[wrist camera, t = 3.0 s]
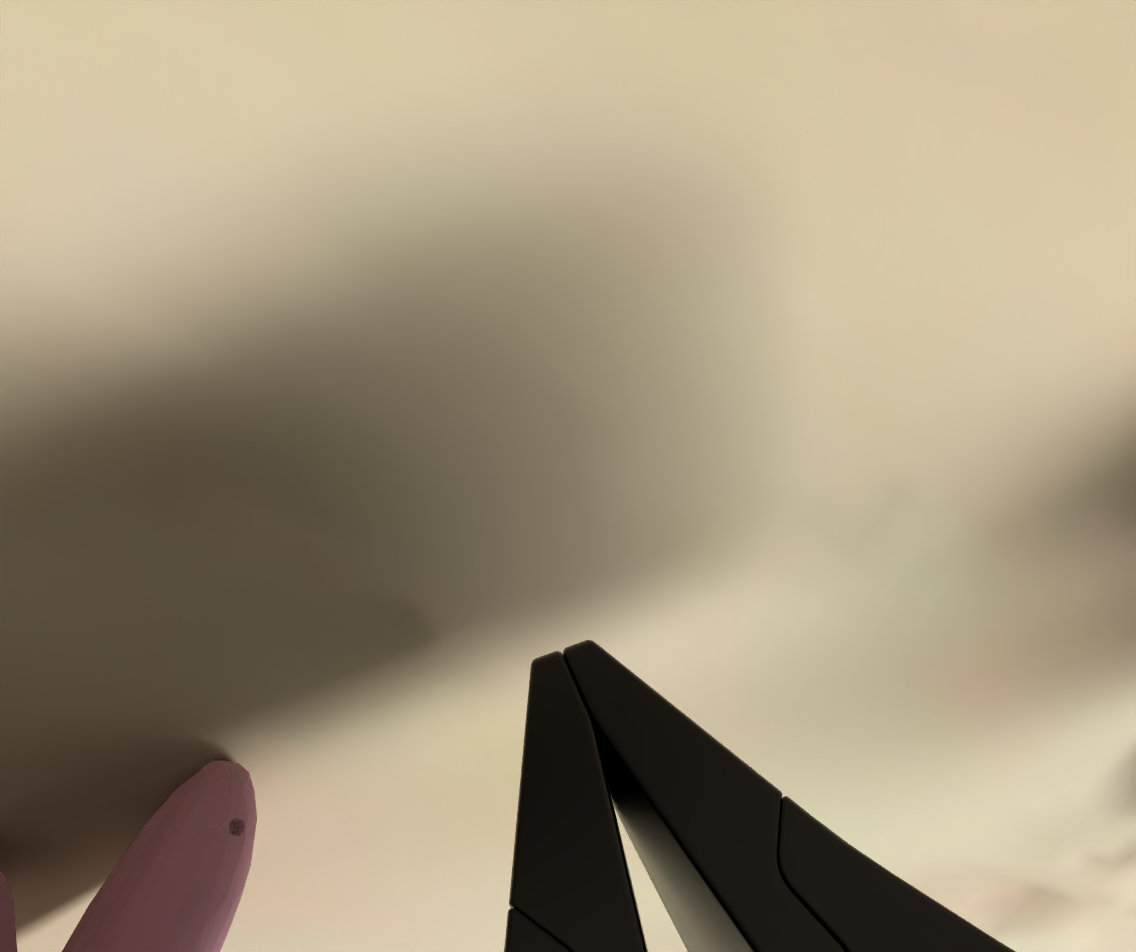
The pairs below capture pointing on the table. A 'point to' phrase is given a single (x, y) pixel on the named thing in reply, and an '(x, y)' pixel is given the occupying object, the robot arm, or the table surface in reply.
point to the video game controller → (171, 873)
